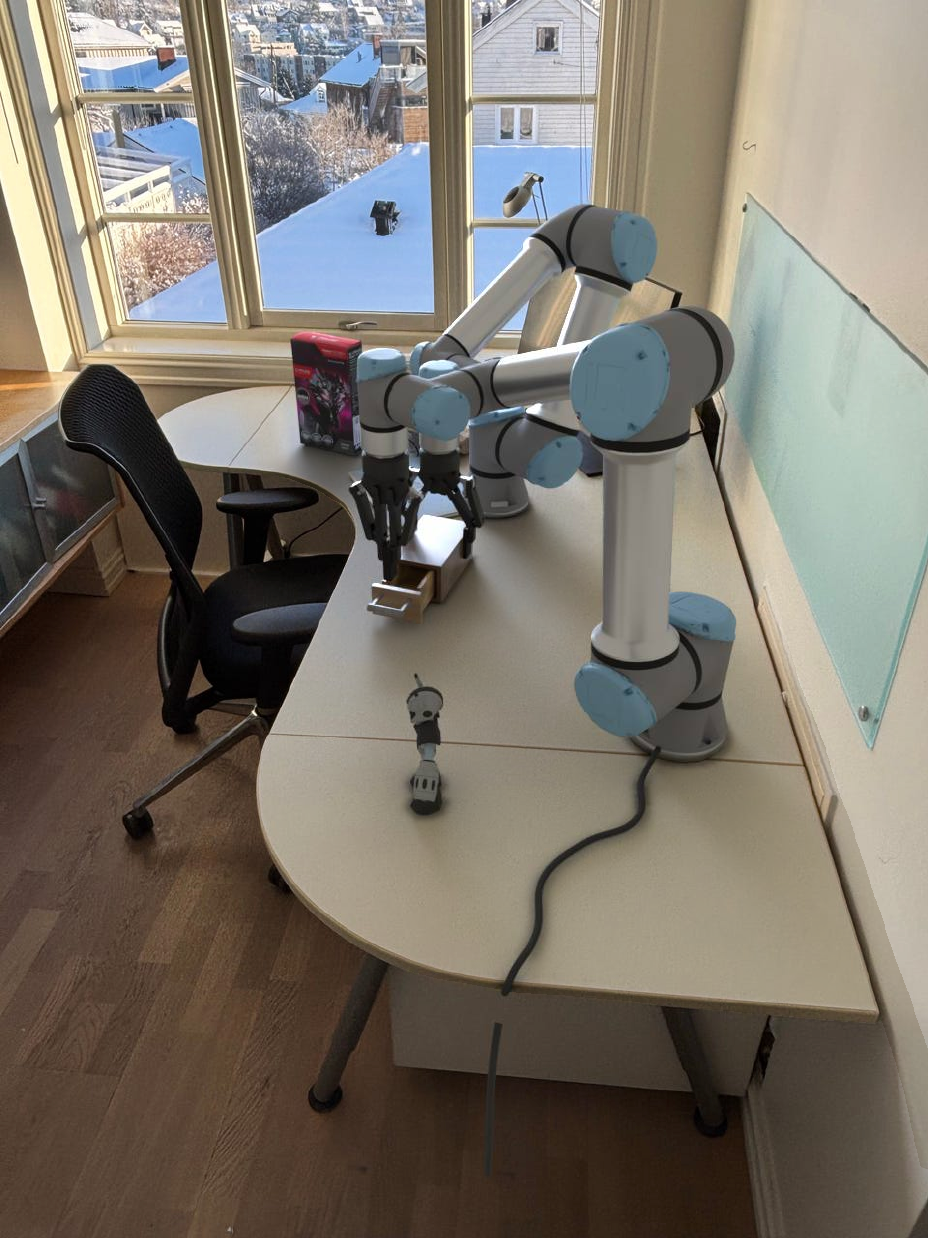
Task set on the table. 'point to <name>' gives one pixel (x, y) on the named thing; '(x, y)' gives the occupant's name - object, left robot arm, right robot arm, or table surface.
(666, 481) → the right robot arm
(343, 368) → the graphics card box
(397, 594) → the drawer
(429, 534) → the cabinet
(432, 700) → the robot
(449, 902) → the table surface
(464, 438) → the stone
